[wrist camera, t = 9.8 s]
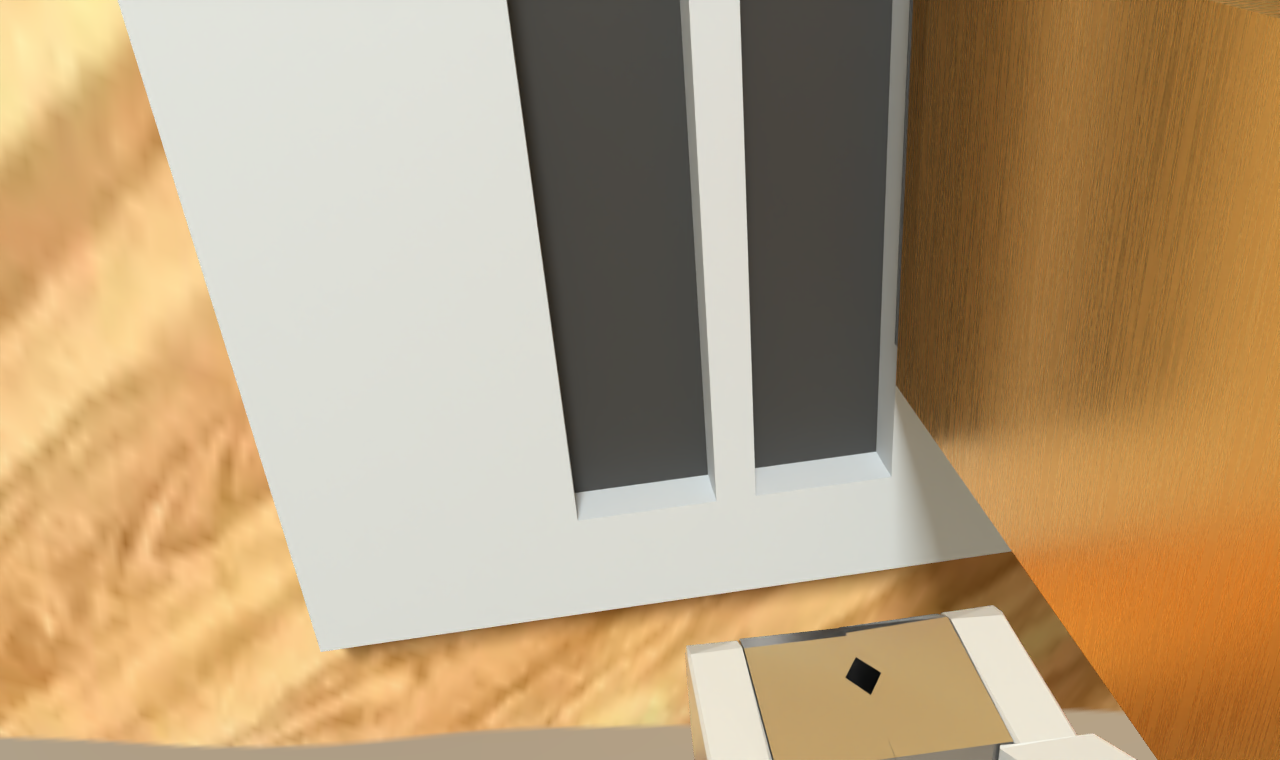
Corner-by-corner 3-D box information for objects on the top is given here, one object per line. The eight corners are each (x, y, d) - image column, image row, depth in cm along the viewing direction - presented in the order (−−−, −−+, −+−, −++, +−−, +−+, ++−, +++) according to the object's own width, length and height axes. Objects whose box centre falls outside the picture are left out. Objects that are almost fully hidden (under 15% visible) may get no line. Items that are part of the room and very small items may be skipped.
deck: (2072, -548, 20) (2184, -574, 18) (1629, 426, 31) (1680, 454, 29) (29, -389, 17) (-10, -406, 16) (328, 612, 28) (320, 651, 27)
